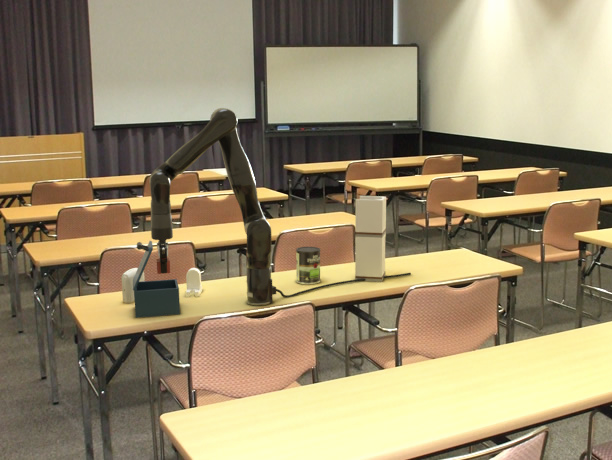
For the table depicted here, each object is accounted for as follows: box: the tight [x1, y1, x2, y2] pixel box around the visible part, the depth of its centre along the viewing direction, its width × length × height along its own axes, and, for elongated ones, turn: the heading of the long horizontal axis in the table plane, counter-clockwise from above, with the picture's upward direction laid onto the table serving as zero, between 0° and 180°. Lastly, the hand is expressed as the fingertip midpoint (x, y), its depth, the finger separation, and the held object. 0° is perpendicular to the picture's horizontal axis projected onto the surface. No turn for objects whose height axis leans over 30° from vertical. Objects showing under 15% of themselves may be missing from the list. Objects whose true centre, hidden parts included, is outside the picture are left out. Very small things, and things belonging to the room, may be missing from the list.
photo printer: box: [120, 267, 146, 304], centre depth 292 cm, size 10×4×12 cm, turn 158°
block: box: [156, 257, 171, 275], centre depth 277 cm, size 4×4×4 cm
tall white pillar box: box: [354, 195, 387, 283], centre depth 323 cm, size 11×11×35 cm
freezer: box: [134, 278, 181, 319], centre depth 278 cm, size 16×14×10 cm
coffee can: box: [295, 246, 321, 285], centre depth 319 cm, size 10×10×14 cm
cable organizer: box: [185, 267, 203, 298], centre depth 301 cm, size 5×10×10 cm, turn 4°
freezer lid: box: [133, 240, 154, 291], centre depth 274 cm, size 16×14×5 cm
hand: (163, 271), depth 277 cm, fingers closed on block, 4 cm apart
